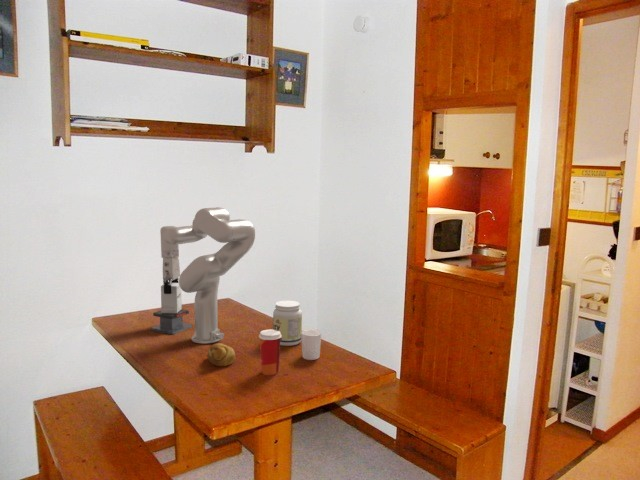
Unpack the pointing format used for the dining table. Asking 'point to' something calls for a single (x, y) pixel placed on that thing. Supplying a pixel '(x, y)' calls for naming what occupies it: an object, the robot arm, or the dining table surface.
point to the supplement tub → (288, 322)
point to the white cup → (311, 344)
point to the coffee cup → (270, 351)
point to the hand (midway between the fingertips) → (171, 291)
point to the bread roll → (221, 354)
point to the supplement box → (171, 299)
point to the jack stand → (171, 322)
